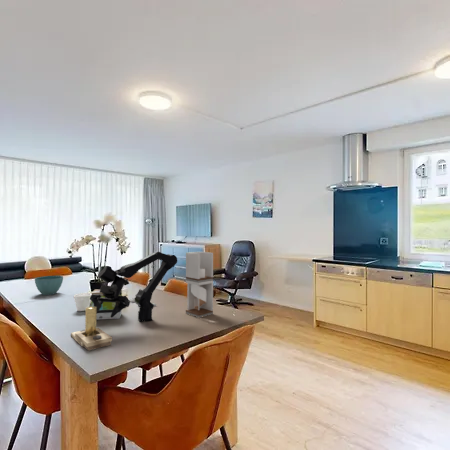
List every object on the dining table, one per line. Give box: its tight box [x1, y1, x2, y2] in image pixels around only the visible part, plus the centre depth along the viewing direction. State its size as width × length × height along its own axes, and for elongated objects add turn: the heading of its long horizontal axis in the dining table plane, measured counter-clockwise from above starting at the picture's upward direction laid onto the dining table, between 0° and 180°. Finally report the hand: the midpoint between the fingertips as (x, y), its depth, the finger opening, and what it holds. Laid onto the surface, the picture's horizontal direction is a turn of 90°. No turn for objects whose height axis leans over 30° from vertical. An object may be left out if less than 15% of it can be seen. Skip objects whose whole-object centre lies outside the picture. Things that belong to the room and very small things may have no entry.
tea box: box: [90, 289, 123, 321], centre depth 165 cm, size 15×10×15 cm, turn 105°
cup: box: [73, 292, 92, 312], centre depth 178 cm, size 10×10×9 cm
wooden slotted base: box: [70, 327, 113, 351], centre depth 130 cm, size 10×22×4 cm, turn 42°
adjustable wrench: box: [129, 297, 157, 307], centre depth 194 cm, size 25×6×2 cm, turn 48°
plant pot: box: [34, 275, 64, 296], centre depth 222 cm, size 18×18×12 cm
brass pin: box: [84, 306, 97, 337], centre depth 130 cm, size 4×4×14 cm
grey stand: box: [185, 251, 214, 318], centre depth 171 cm, size 11×11×35 cm
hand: (102, 316), depth 138 cm, fingers open, 9 cm apart
